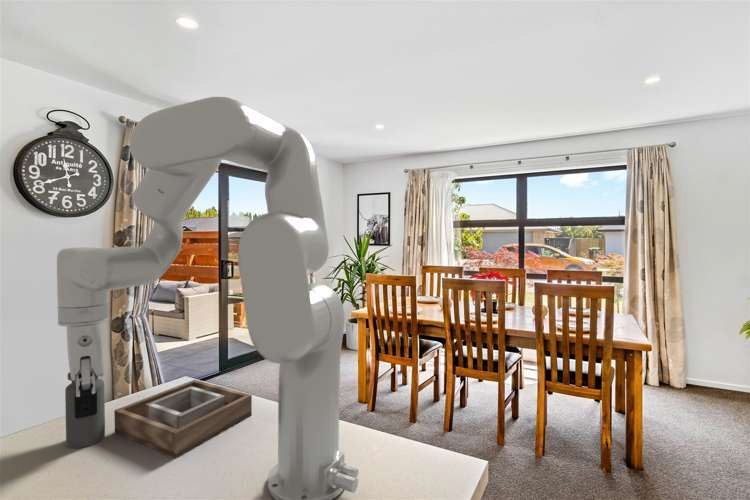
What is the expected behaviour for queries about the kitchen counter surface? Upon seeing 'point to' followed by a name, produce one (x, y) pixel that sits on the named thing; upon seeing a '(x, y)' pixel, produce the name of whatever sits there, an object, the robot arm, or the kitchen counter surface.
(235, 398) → the walled box
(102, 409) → the bottle
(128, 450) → the kitchen counter surface
